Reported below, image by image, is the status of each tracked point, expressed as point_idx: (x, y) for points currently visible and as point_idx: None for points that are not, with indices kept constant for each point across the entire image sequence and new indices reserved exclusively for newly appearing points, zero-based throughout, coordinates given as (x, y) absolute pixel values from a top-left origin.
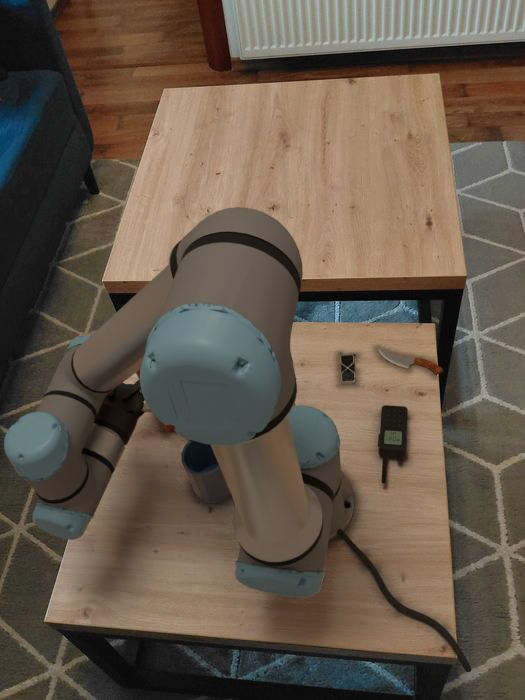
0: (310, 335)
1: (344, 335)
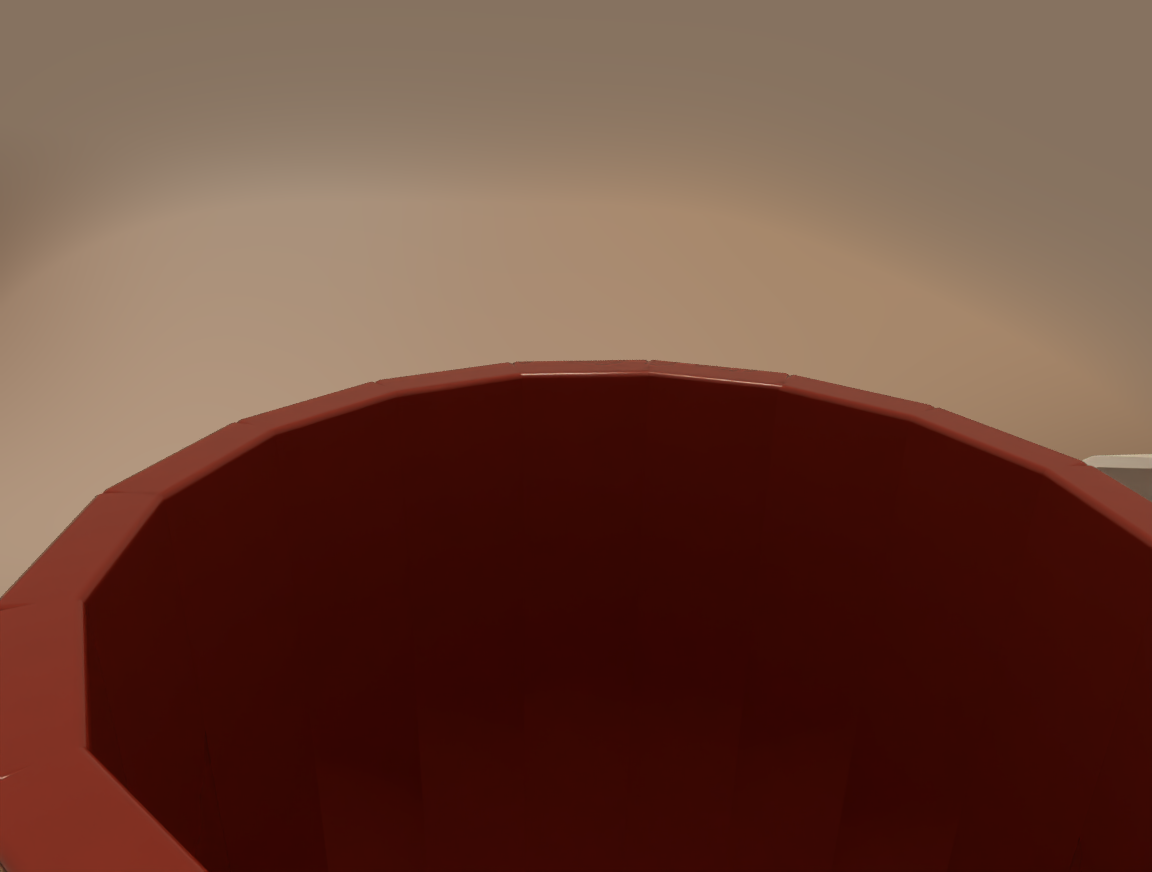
0: None
1: None
